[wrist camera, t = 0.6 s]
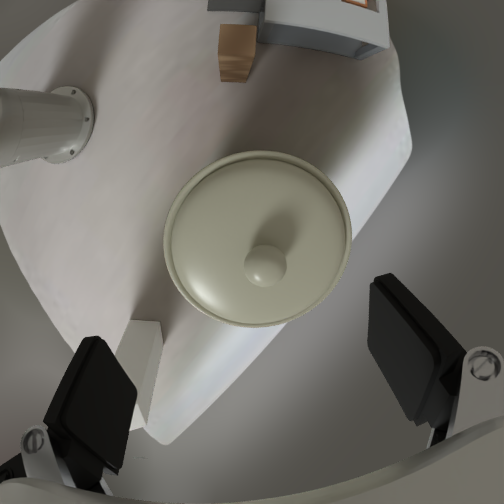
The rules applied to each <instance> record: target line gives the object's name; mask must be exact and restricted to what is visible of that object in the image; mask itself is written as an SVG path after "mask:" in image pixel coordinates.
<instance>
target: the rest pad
mask: <svg viewBox="0 0 504 504" xmlns="http://www.w3.org/2000/svg"><path fill="white" fill-rule="evenodd" d="M261 1H262V2H261ZM265 2H266V1H265V0H209V1H208V9H207V11H240V12H256V13H259V12H261V11H262V10H263V11H265ZM260 4H261V5H260ZM263 5H264V6H263ZM260 6H261V7H263V9H262V8H260ZM263 11H262V12H263Z"/></svg>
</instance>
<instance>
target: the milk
mask: <svg viewBox="0 0 504 504" xmlns="http://www.w3.org/2000/svg"><path fill="white" fill-rule="evenodd" d="M163 346H164V344H163V338H162V332H161V326H160V322H157V321H143V320H129V323H128V325H127V327H126V330H125V332H124V334H123V337H122V339H121V341H120V344H119V346H118V348H117V351H116V353H115V357H116V359H117V360H118V362H119V363H120V365H121V366H122V368H123V369H124V371H125V372H126V374H127V375H128V377H129V378H130V380H131V381H132V382H133V384H134V385H135V387H136V389H137V393H138V395H137V400H136V404H135V408H134V412H133V417H132V421H131V426H130V430H134V429H137V428H140V427H144V426H146V425H147V421H148V415H149V410H150V405H151V400H152V395H153V391H154V386H155V381H156V377H157V372H158V368H159V363H160V359H161V355H162V351H163ZM130 430H129V431H130Z"/></svg>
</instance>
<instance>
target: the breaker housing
mask: <svg viewBox="0 0 504 504" xmlns="http://www.w3.org/2000/svg"><path fill="white" fill-rule="evenodd" d="M265 1H266V2H265V11H263V10H262V11H263V12H262V11H261V12H259V24H258V40H257V42H259V43H270V44H280V45H288V46H295V47H301V48H308V49H313V50H319V51H324V52H329V53H334V54H338V55H342V56H347V57H351V58H355V59H358V60H363V59H365V58H367V57H369V56H371V55H373V54H376V53H378V52H380V51H383V50H385V49H387V48H390V44H389V27H388V14H387V3H386V0H376V9H377V12H374V11H372V10H369V9H366V8H362V7H359V6H356V5H353V4H349V3H346V2H342V1H341V0H265ZM367 1H368V0H367ZM261 2H262V1H261ZM260 5H261V4H260ZM263 6H264V5H263ZM260 8H262V9H263V7H261V6H260ZM362 41H364V42H367V43H369V44H368V45H366V46H364V47H362Z"/></svg>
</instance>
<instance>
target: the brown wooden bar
mask: <svg viewBox="0 0 504 504" xmlns="http://www.w3.org/2000/svg"><path fill="white" fill-rule="evenodd" d="M256 31H257V26H254V25H235V24H220V34H219V45H218V60H219V68H220V77H221V82H244V83H246V80H247V77H248V74H249V71H250V68H251V65H252V62H253V60H254V57H255V47H256Z"/></svg>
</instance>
